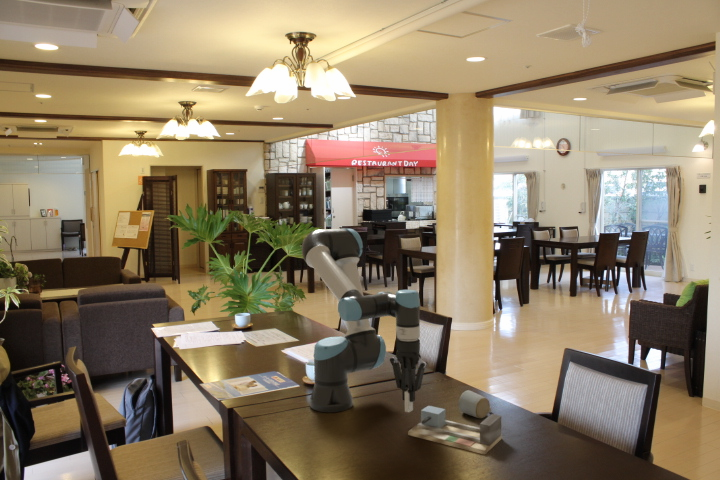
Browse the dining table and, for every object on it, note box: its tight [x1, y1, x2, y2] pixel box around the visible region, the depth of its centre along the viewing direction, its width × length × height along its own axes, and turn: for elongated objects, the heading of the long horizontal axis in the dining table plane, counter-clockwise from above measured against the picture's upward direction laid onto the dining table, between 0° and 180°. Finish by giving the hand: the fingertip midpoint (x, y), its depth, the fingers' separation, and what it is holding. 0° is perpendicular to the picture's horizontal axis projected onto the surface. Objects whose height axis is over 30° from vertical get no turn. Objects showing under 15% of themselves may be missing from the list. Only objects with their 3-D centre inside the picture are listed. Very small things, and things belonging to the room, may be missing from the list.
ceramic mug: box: [458, 389, 492, 419], centre depth 194 cm, size 11×8×8 cm
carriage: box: [420, 405, 447, 428], centre depth 180 cm, size 6×9×5 cm, turn 145°
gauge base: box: [407, 413, 503, 455], centre depth 176 cm, size 25×13×7 cm, turn 55°
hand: (408, 410), depth 186 cm, fingers closed
